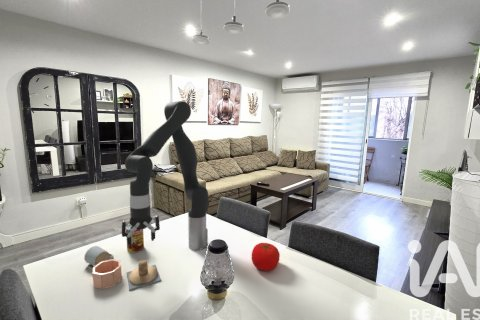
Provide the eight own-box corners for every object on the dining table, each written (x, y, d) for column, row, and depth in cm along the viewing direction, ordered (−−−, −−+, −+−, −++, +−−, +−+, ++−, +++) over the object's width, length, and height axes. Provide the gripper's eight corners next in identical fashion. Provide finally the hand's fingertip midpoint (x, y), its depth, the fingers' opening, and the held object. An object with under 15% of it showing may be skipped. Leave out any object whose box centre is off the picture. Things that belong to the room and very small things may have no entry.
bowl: (120, 269, 104) (119, 257, 104) (122, 283, 96) (121, 269, 95) (94, 276, 99) (93, 263, 99) (93, 291, 91) (92, 277, 90)
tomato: (253, 256, 118) (254, 236, 116) (279, 259, 115) (280, 239, 114) (248, 273, 104) (249, 251, 102) (278, 278, 101) (279, 255, 100)
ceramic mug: (96, 271, 103) (95, 255, 102) (84, 266, 107) (83, 250, 105) (117, 259, 112) (117, 244, 111) (106, 255, 116) (105, 240, 115)
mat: (155, 265, 108) (155, 264, 108) (161, 281, 98) (161, 279, 98) (126, 273, 102) (126, 272, 102) (129, 290, 92) (129, 289, 92)
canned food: (133, 254, 117) (132, 231, 115) (124, 249, 121) (122, 227, 119) (147, 247, 123) (146, 225, 121) (137, 243, 127) (136, 222, 126)
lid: (154, 265, 107) (154, 252, 106) (159, 279, 98) (159, 265, 97) (127, 272, 102) (127, 259, 101) (130, 288, 92) (129, 273, 91)
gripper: (156, 199, 102) (157, 235, 104) (119, 204, 95) (121, 242, 97) (160, 204, 95) (161, 242, 98) (121, 210, 88) (123, 250, 91)
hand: (141, 242), depth 98 cm, fingers open, 8 cm apart
